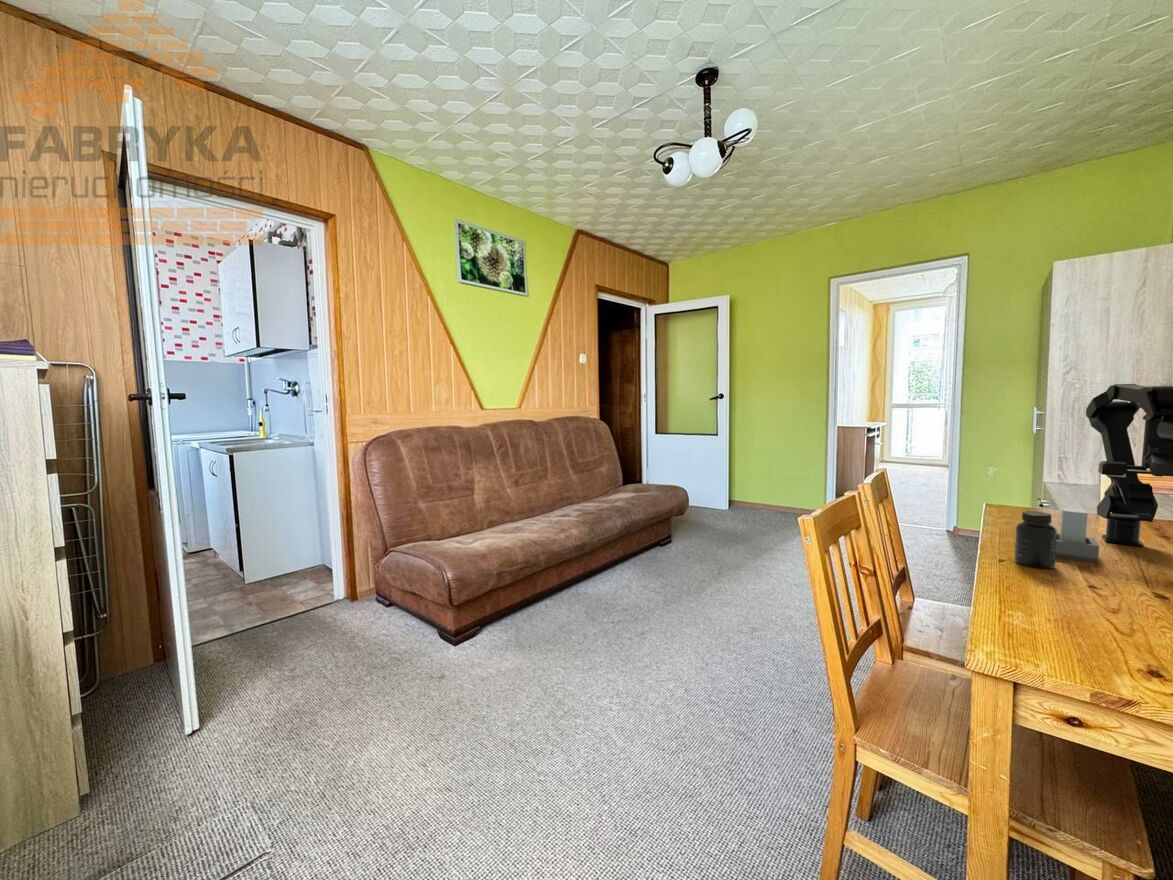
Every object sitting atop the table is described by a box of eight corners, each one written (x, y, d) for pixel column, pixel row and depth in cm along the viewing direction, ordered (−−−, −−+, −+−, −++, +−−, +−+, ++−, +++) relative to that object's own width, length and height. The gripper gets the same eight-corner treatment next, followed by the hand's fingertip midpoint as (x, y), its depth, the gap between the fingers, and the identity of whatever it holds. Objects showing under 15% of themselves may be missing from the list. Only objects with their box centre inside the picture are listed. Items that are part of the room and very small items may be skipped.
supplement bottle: (1037, 559, 111) (1041, 509, 110) (1063, 569, 104) (1067, 517, 103) (1006, 558, 112) (1009, 509, 111) (1030, 569, 105) (1033, 517, 104)
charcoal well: (1046, 547, 119) (1047, 532, 119) (1092, 553, 114) (1093, 537, 113) (1048, 556, 113) (1050, 539, 113) (1097, 563, 108) (1099, 546, 107)
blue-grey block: (1058, 547, 116) (1061, 507, 115) (1082, 550, 113) (1085, 509, 112) (1060, 551, 113) (1063, 510, 112) (1084, 555, 110) (1087, 513, 109)
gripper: (1108, 442, 108) (1103, 509, 109) (1245, 446, 95) (1236, 521, 97) (1100, 438, 116) (1095, 500, 117) (1225, 441, 104) (1217, 510, 105)
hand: (1156, 507), depth 109 cm, fingers open, 9 cm apart
